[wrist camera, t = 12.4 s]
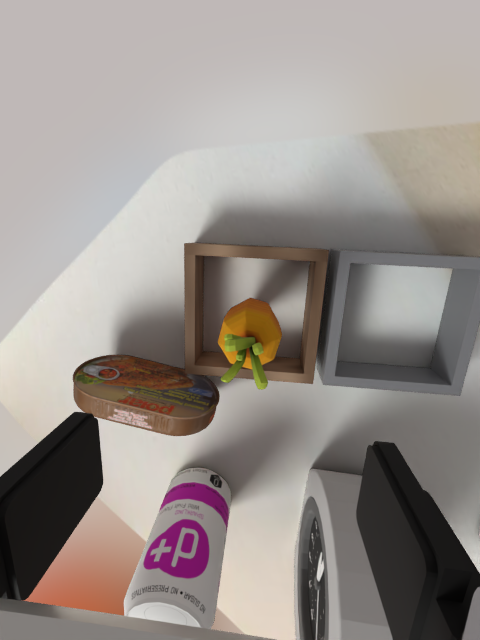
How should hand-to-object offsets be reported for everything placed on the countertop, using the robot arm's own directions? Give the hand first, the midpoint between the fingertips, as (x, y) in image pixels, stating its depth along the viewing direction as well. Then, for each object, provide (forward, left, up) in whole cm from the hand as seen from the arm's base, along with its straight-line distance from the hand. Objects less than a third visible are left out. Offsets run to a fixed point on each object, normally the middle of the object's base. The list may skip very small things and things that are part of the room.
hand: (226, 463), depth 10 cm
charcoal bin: (-14, 0, -23) cm, 27 cm away
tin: (+11, +9, -24) cm, 27 cm away
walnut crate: (0, 0, -23) cm, 23 cm away
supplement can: (+6, +25, -24) cm, 35 cm away
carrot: (0, 0, -24) cm, 24 cm away
